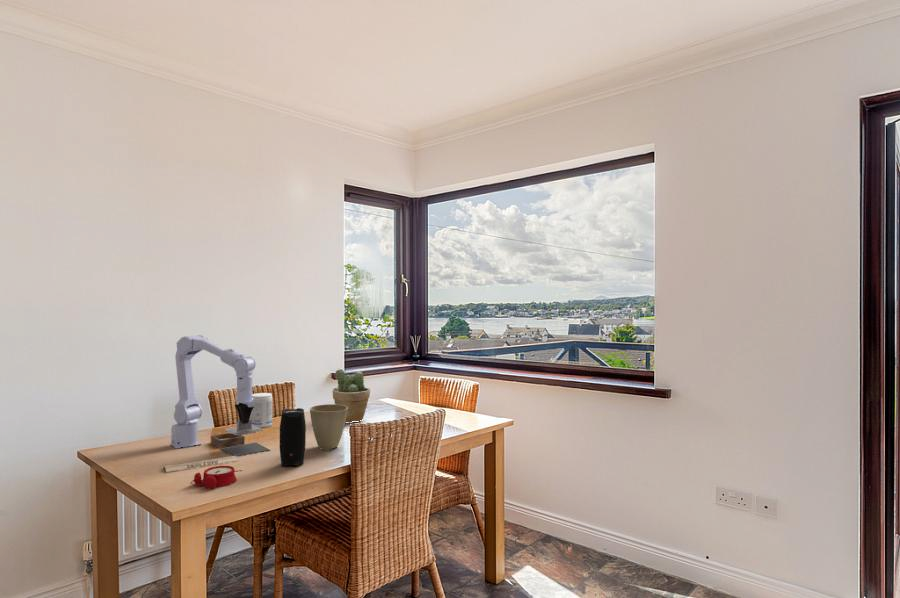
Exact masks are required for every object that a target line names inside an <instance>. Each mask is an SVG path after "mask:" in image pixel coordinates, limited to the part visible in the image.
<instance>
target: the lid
mask: <svg viewBox="0 0 900 598" xmlns="http://www.w3.org/2000/svg"><path fill="white" fill-rule="evenodd" d="M225 430H226V431H227V432H228V433H232V434H234V435H238V436H240V435H242V436H245V435H246V436H247V435H250V434H251V435H252V434H256V433H257V432H262V431H263V428H260V427H257V426H255V425H253V424H252V420H251V419H249V422H248V423H245V424H243V423H242V421H240V420H239V421H238V420H236V426H232V427H226V428H225Z"/></svg>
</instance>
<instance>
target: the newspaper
mask: <svg viewBox="0 0 900 598" xmlns="http://www.w3.org/2000/svg"><path fill="white" fill-rule="evenodd" d="M236 461H238V462H239V459H238V457H236V456H231V455H230V456H225V457H219V458H212V459H206V460H200V461H193V462H186V463H180V464H173V465H166V466H163V469H164V468H165V471H166V472H165V474H167V472H169V473H174V472H173V471H175V472H180V471H179V470H181V471H185V470H184V469H188V470H191V469H190V468H194V469H197V468H196V467H200V468H205V467H204V466H207V467H212V466H211V465H213V466H218V465H217V464H219V465H224V464H223V463H225V464H230V463H229V462H232V463H236Z"/></svg>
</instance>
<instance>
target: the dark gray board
mask: <svg viewBox="0 0 900 598" xmlns="http://www.w3.org/2000/svg"><path fill="white" fill-rule="evenodd" d="M221 449H222V450H221ZM220 450H221V451H223V450H224V451H223V452H225V453H226V452H227V453H226V454H228V453H229V454H230V455H229V454H228V455H229V456H231V455H232V456H238V457H242V455H243V456H247V454H249V455H254V454H258V452H260V453H265V452H264V451H266V452H270V451H271V449H269V447H266V446H263V445H262V444H260V443H258V442H250V443H244V444H241V445H235V446H229V447H223V448H220ZM269 450H270V451H269ZM253 453H254V454H253Z"/></svg>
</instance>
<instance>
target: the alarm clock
mask: <svg viewBox="0 0 900 598" xmlns="http://www.w3.org/2000/svg"><path fill="white" fill-rule="evenodd" d="M242 471H243V469H241V470H239V469H238V470H235V467H234V466H230V465H215V466H210V467H208V468H206V469H204V471H203V477H202V475H201V473H200V472H196V473H195V474H194V475H193V479H192V481H190V484H191V485H193V486H196V487H201V486H203V487H204V488H205V489H207V490H213V489H215V488H220V486H221V487H226V486H229V485H232V484H234V483H235V482H236V481H237V477H236V475H235V472H237V473H238V472H242ZM231 483H232V484H231ZM225 485H226V486H225Z"/></svg>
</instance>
